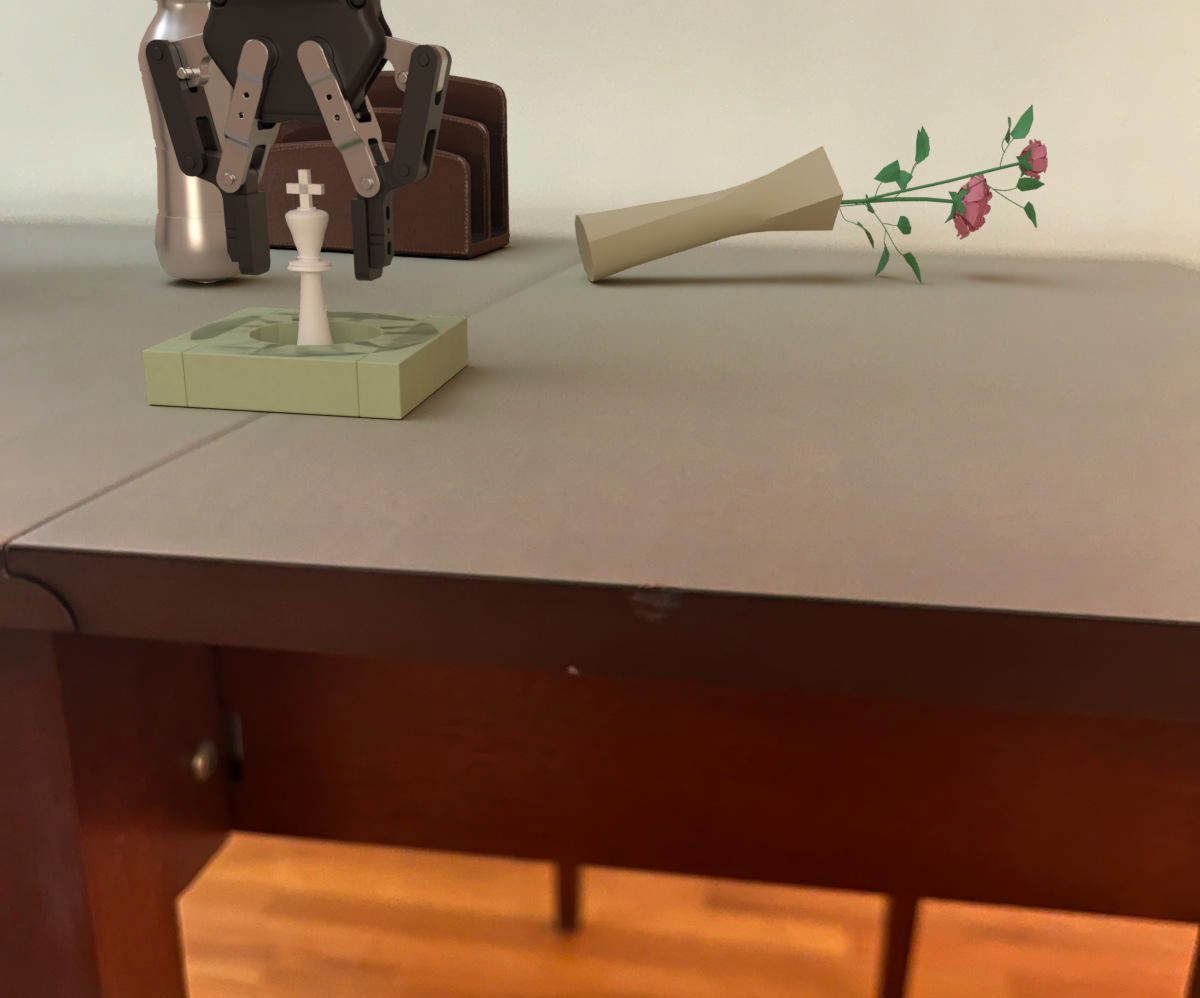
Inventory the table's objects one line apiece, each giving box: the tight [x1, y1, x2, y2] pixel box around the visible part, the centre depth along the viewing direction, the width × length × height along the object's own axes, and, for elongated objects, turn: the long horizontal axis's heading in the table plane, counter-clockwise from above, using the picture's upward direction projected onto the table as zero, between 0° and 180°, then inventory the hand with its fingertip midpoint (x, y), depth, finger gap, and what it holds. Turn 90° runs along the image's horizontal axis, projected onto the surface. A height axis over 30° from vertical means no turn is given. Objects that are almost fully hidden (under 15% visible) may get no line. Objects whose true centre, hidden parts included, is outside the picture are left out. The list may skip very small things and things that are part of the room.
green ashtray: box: [141, 306, 469, 420], centre depth 65 cm, size 12×12×2 cm
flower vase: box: [574, 103, 1049, 285], centre depth 99 cm, size 12×12×35 cm
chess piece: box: [285, 169, 334, 345], centre depth 63 cm, size 5×5×10 cm
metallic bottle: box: [137, 0, 242, 284], centre depth 90 cm, size 6×7×20 cm
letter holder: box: [258, 70, 511, 260], centre depth 111 cm, size 10×20×14 cm, turn 74°
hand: (312, 274), depth 63 cm, fingers open, 5 cm apart
